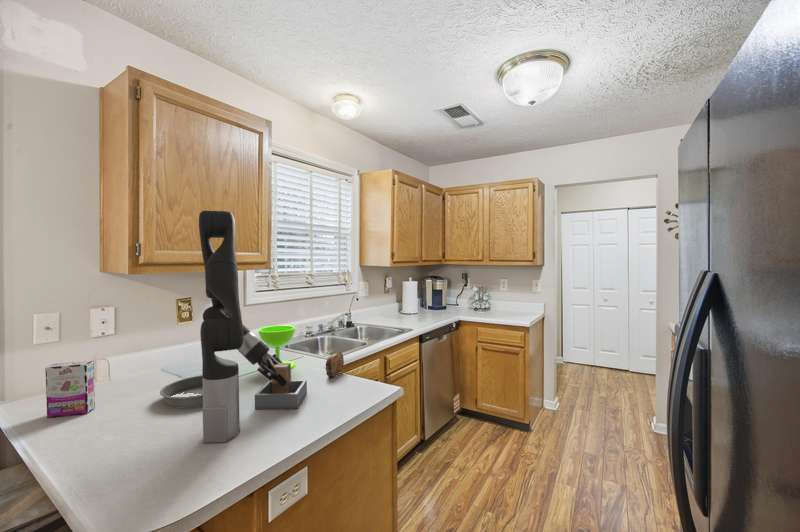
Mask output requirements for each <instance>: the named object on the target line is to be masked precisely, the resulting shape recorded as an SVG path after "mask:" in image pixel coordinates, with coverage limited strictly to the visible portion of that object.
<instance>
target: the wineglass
mask: <svg viewBox="0 0 800 532" xmlns="http://www.w3.org/2000/svg"><path fill="white" fill-rule="evenodd" d="M295 331H296V327H295V326H294V325H272V326H265V327H261V328H259V329H258V335H259V338H260V340H261V341H262V342H263V343H264V344H265V345H267V346H271V347H275V348H274V349H275V350H274V351H275V353H274V354H275V355H276V356H277V357H278V358H279V359H280V360H281V356H280V355H281V352H280V351H281V350H280V347H281V346H284V345H286V344H288V343H289V342H290V341H291V340H292V338H293V337H294V335H295ZM281 361H282V363H291V370H294V369H295V368H296V367H297V366H296V363H295V362H293V361H290V360H281Z"/></svg>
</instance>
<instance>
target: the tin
mask: <svg viewBox="0 0 800 532" xmlns="http://www.w3.org/2000/svg"><path fill="white" fill-rule="evenodd" d="M344 359H345V358H344V355H343V353H342V352H335V353H333V354H332V355H330V356H328V357H327V359H326V361H325V371H326V375H327V377H330V378H331V377H333V378H335V377H337V374H338V373H339V374H340V373H341V372H342V371H343V369H344V362H345V361H344ZM339 374H338V375H339Z"/></svg>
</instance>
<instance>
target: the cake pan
mask: <svg viewBox="0 0 800 532" xmlns="http://www.w3.org/2000/svg"><path fill="white" fill-rule="evenodd" d="M183 392H184V393H183ZM181 393H183V394H187V393H194V394H197V393H198V394H201V395H197V396H189V397H171V396H173V395H176V394H181ZM159 394H160V396H161V397H163V398H164V400H165V403H167V404H168V405H167V404H166V405H167V406H169V407H171V406H173V407H172V408H178V407H188V408H195V407H196V406H197V407H203V378H202V374H201V375H197V376H196V375H195V376H191V377H185V378H183V379H180V380H176V381H173V382H171V383H168V384H166V385H165V386H164V387H162V388H161V389H160V392H159Z"/></svg>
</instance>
